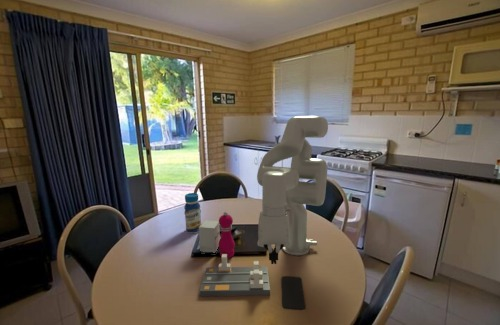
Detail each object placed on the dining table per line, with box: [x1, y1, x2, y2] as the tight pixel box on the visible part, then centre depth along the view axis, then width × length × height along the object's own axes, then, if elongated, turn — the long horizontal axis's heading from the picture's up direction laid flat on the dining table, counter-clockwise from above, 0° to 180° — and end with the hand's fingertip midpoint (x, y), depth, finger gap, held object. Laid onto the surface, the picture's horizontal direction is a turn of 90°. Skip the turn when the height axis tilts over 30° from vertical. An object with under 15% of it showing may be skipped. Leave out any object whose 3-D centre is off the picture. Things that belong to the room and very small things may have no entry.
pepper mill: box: [218, 211, 236, 259], centre depth 104 cm, size 7×7×20 cm
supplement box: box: [198, 220, 221, 253], centre depth 109 cm, size 7×7×13 cm
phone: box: [281, 275, 306, 311], centre depth 83 cm, size 7×1×15 cm
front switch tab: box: [250, 270, 263, 288], centre depth 82 cm, size 4×2×6 cm, turn 90°
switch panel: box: [199, 266, 271, 297], centre depth 88 cm, size 24×13×2 cm, turn 90°
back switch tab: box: [218, 254, 232, 271], centre depth 92 cm, size 4×2×6 cm, turn 90°
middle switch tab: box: [250, 260, 263, 279], centre depth 87 cm, size 4×2×6 cm, turn 90°
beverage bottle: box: [183, 192, 202, 234], centre depth 127 cm, size 8×8×20 cm
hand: (273, 261), depth 80 cm, fingers closed
